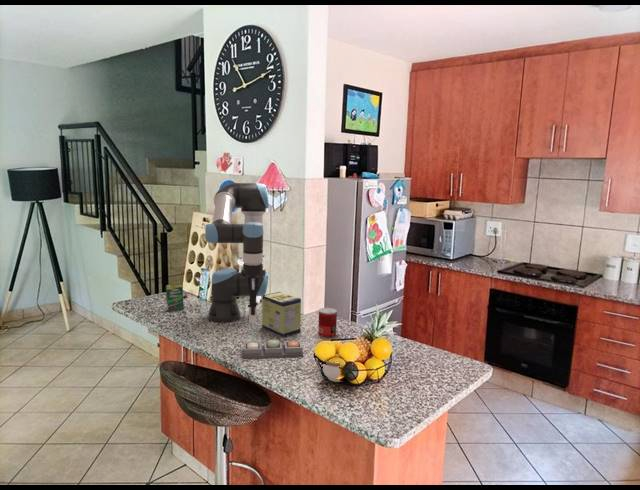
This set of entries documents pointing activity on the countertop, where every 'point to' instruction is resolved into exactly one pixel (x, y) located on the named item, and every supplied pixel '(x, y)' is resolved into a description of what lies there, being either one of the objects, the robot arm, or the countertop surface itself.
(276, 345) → the button sage
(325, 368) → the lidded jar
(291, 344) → the button terracotta
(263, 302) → the protein box
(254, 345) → the button cream
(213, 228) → the robot arm
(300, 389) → the countertop surface
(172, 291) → the coffee box
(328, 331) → the canned food
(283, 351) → the button panel
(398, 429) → the countertop surface
